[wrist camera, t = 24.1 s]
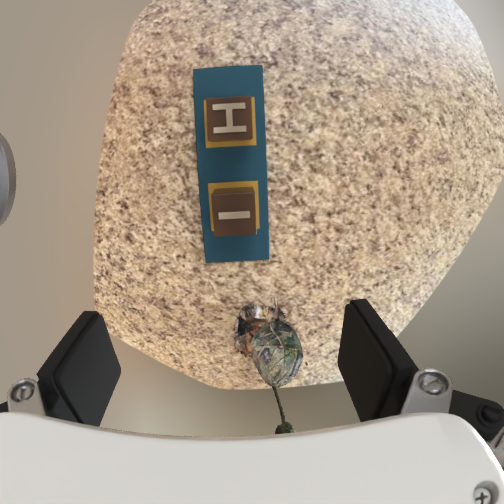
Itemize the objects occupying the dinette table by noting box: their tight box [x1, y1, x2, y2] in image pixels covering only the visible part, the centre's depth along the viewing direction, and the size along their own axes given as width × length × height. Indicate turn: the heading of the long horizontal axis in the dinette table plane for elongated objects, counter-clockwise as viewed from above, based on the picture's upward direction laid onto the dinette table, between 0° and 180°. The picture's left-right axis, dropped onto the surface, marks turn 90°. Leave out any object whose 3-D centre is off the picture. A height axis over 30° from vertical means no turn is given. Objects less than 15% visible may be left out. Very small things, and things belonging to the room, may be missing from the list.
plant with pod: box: [234, 296, 308, 434], centre depth 32 cm, size 8×11×20 cm
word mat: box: [193, 65, 269, 263], centre depth 33 cm, size 8×24×1 cm, turn 2°
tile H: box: [206, 96, 253, 142], centre depth 29 cm, size 4×4×5 cm
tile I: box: [211, 187, 257, 237], centre depth 32 cm, size 4×4×5 cm
